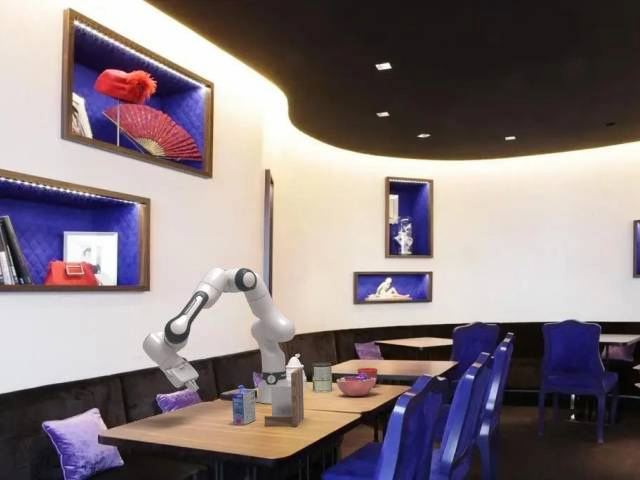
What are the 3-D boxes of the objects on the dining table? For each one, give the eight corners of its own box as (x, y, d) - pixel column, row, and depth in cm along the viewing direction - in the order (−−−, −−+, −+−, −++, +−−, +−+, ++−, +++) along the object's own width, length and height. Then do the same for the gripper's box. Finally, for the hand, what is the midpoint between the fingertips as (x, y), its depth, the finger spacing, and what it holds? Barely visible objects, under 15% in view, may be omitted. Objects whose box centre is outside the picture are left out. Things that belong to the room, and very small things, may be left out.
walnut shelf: (273, 417, 249) (272, 368, 251) (303, 417, 247) (302, 367, 249) (263, 427, 231) (262, 373, 233) (296, 427, 230) (294, 373, 231)
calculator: (219, 392, 299) (242, 387, 311) (220, 401, 299) (242, 395, 311) (235, 394, 292) (257, 388, 304) (235, 403, 292) (257, 397, 304)
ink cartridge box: (244, 419, 247) (243, 383, 248) (256, 420, 245) (255, 383, 246) (232, 424, 238) (231, 387, 239) (244, 425, 236) (244, 387, 237)
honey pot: (306, 385, 338) (305, 352, 340) (306, 389, 325) (305, 355, 327) (283, 386, 338) (282, 353, 340) (282, 389, 325) (281, 355, 327)
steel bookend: (274, 417, 250) (273, 385, 251) (300, 417, 248) (299, 384, 250) (271, 419, 246) (271, 386, 247) (298, 419, 244) (297, 386, 245)
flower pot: (376, 385, 331) (375, 367, 332) (379, 388, 320) (378, 369, 321) (357, 386, 330) (356, 368, 331) (359, 389, 320) (358, 370, 321)
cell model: (331, 395, 303) (330, 372, 304) (367, 391, 310) (367, 369, 311) (344, 400, 287) (343, 375, 288) (382, 396, 294) (381, 372, 295)
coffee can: (308, 391, 318) (308, 363, 319) (325, 389, 324) (324, 362, 325) (320, 393, 309) (319, 365, 311) (336, 391, 315) (335, 363, 317)
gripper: (168, 363, 237) (193, 388, 235) (187, 357, 257) (209, 381, 255) (157, 374, 237) (182, 400, 235) (177, 368, 258) (199, 391, 255)
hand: (196, 390), depth 245 cm, fingers closed
